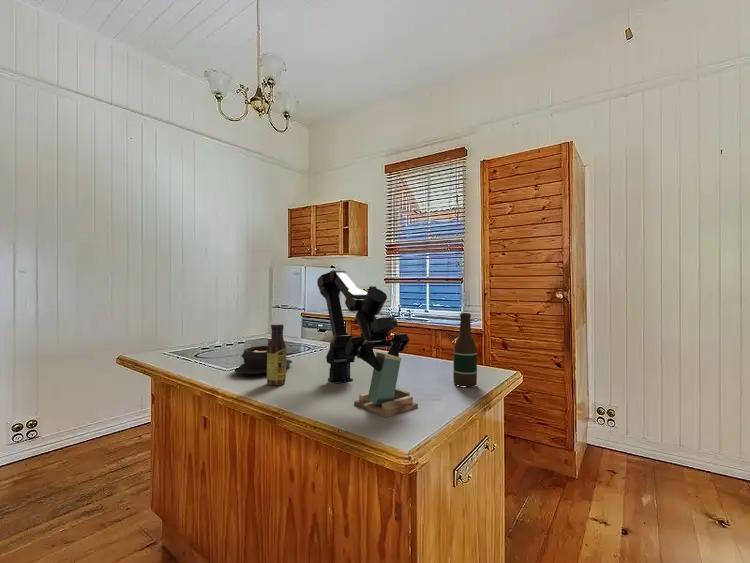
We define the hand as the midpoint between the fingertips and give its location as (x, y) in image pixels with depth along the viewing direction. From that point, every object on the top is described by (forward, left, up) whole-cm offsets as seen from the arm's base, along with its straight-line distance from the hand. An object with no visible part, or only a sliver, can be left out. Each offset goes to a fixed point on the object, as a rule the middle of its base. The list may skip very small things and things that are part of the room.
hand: (389, 369), depth 104 cm
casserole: (+7, -62, -11) cm, 63 cm away
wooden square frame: (-1, -2, -11) cm, 11 cm away
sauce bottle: (+12, -42, -11) cm, 45 cm away
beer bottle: (-36, -1, -11) cm, 37 cm away
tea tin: (+2, -1, -9) cm, 9 cm away
